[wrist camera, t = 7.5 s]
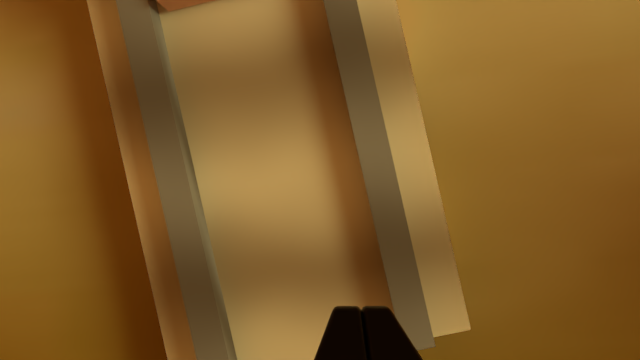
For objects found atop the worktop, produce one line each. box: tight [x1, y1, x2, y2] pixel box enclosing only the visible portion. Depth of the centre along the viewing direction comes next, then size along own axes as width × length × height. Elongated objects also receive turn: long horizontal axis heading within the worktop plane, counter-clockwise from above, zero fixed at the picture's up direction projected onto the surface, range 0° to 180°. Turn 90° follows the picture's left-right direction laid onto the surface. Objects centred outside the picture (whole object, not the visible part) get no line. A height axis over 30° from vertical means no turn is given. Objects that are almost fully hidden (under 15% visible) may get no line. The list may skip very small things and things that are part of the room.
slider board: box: [87, 0, 471, 360], centre depth 20 cm, size 18×10×3 cm, turn 13°
